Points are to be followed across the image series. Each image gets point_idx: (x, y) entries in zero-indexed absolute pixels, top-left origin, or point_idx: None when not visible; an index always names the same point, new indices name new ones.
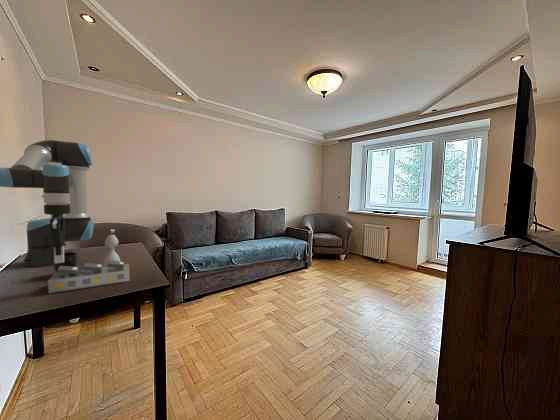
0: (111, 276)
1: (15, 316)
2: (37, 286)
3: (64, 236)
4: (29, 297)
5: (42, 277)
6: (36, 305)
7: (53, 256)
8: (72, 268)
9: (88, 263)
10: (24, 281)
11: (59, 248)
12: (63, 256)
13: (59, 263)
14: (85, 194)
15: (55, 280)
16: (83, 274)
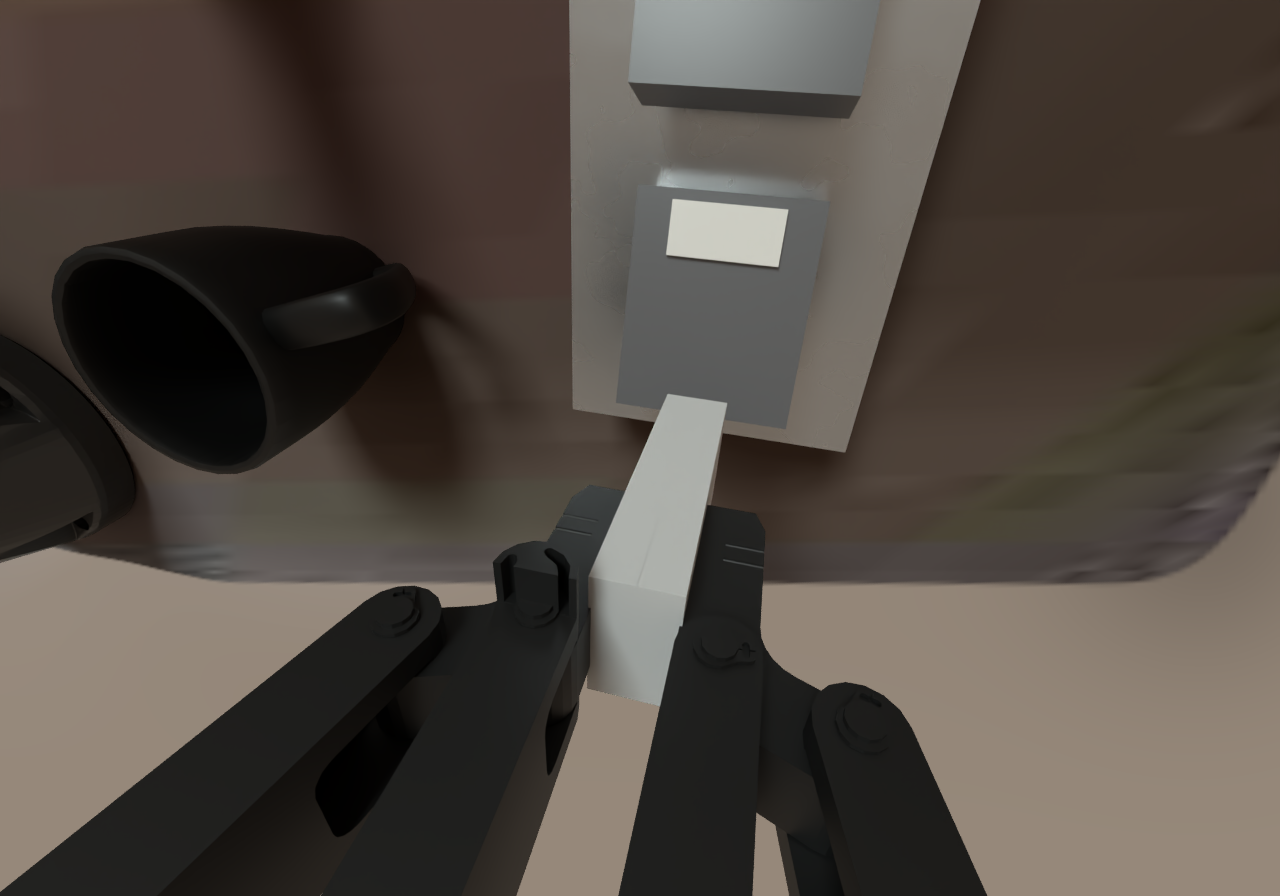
0: None
1: (1211, 545)
2: (592, 455)
3: (221, 739)
4: (830, 489)
5: (385, 434)
6: (1084, 454)
7: (250, 468)
8: (715, 264)
9: (646, 27)
10: (440, 513)
11: (757, 632)
12: (704, 451)
13: (338, 387)
14: None
15: (860, 397)
16: (857, 109)
